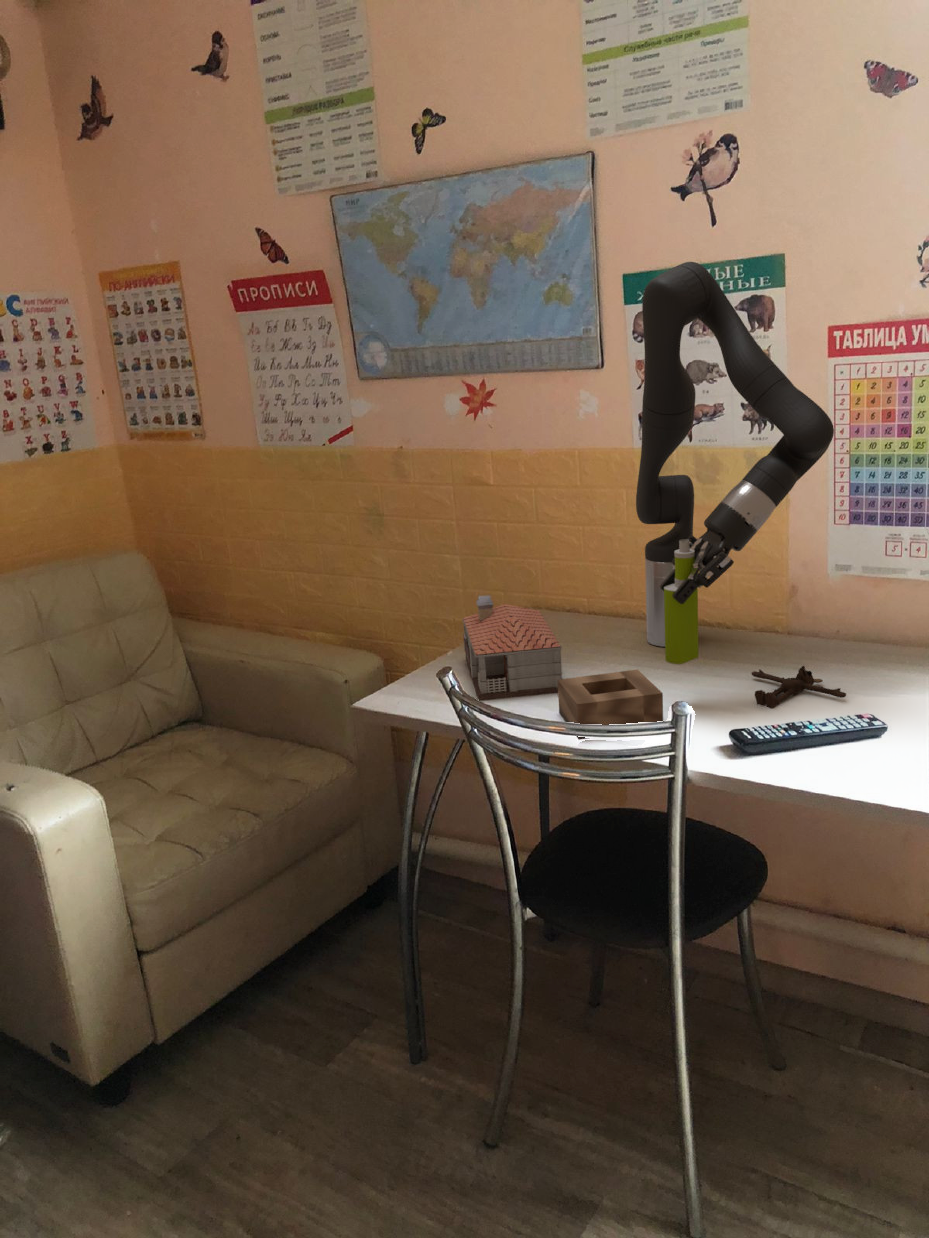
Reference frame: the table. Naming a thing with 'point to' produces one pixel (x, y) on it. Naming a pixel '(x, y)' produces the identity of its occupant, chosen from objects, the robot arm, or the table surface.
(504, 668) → the model house
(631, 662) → the table surface
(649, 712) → the dock
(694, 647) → the vape
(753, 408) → the robot arm
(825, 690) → the brown humanoid figurine
